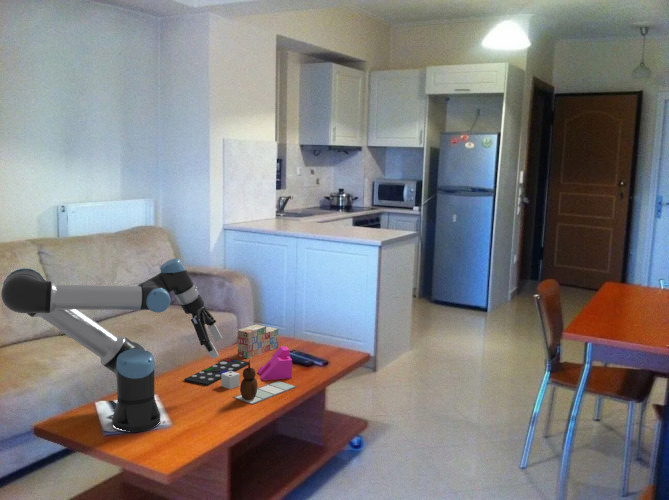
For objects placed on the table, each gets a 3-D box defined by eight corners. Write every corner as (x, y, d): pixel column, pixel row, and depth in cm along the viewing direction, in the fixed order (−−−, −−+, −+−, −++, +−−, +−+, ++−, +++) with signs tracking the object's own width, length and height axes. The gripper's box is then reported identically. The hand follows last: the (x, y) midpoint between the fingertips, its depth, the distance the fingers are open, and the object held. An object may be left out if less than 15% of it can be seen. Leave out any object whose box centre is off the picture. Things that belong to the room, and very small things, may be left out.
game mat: (252, 404, 224) (252, 404, 224) (233, 397, 230) (233, 397, 230) (296, 387, 243) (296, 386, 243) (278, 380, 249) (278, 380, 249)
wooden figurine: (253, 402, 226) (253, 362, 224) (238, 400, 227) (238, 360, 225) (259, 395, 232) (259, 356, 230) (244, 394, 234) (244, 355, 231)
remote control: (249, 365, 269) (249, 360, 268) (207, 387, 241) (207, 382, 241) (228, 361, 273) (228, 357, 273) (184, 382, 246) (184, 377, 246)
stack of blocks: (268, 345, 297) (268, 320, 295) (278, 347, 294) (278, 322, 292) (237, 356, 279) (237, 329, 278) (248, 359, 276) (248, 331, 274)
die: (230, 389, 239) (230, 376, 238) (221, 386, 242) (221, 373, 241) (239, 386, 243) (239, 373, 242) (230, 383, 246) (231, 370, 245)
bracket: (286, 370, 263) (286, 346, 261) (291, 378, 253) (292, 353, 252) (257, 372, 259) (258, 348, 258) (262, 380, 249) (262, 355, 248)
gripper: (194, 309, 209) (223, 360, 216) (203, 282, 233) (229, 329, 239) (174, 318, 209) (203, 369, 216) (185, 290, 233) (211, 337, 240)
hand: (217, 348), depth 228 cm, fingers open, 13 cm apart
